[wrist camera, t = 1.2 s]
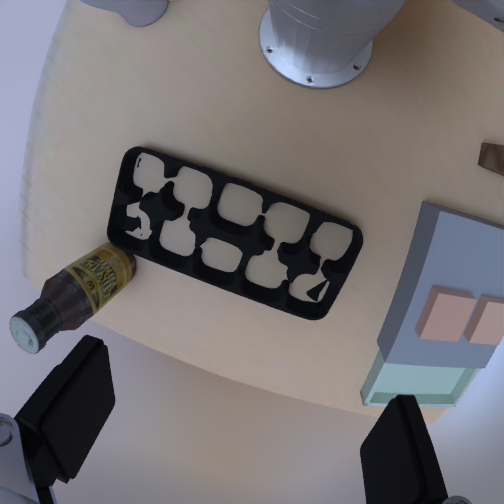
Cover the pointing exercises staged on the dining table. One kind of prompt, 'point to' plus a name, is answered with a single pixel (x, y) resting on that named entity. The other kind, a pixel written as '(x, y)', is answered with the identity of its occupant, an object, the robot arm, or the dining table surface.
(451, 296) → the tile
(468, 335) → the tile
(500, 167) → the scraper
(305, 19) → the robot arm
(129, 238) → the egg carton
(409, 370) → the tray
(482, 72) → the dining table surface
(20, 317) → the sauce bottle
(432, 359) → the board
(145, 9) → the beer glass
